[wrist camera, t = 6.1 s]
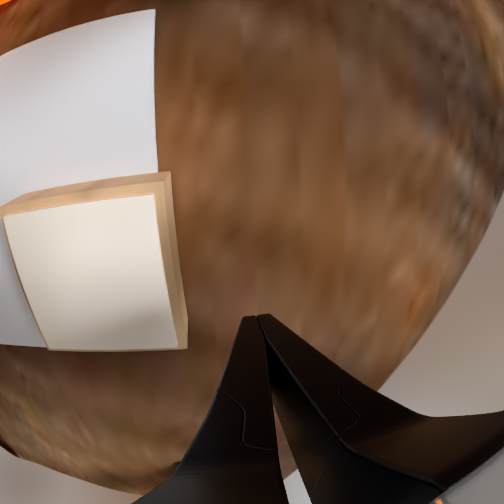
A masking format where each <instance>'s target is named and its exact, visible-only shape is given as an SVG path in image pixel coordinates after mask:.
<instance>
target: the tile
mask: <svg viewBox="0 0 504 504" xmlns="http://www.w3.org/2000/svg"><path fill="white" fill-rule="evenodd" d="M0 216H1V220H2V225H3V229H4V233H5V237H6V240H7V244H8V248H9V251H10V255H11V258H12V261H13V264H14V268H15V271H16V274H17V277H18V280H19V282H20V285H21V288H22V291H23V293H24V296H25V299H26V301H27V304H28V306H29V309H30V311H31V314H32V316H33V318H34V321H35V323H36V325H37V327H38V330H39V332H40V334H41V336H42V338H43V340H44V342H45V344H46V346H47V348H48V350H54V351H86V352H122V351H156V350H176V349H187V335H188V317H187V310H186V304H185V298H184V291H183V284H182V277H181V270H180V262H179V254H178V246H177V237H176V228H175V219H174V209H173V198H172V187H171V174H170V171H165V172H155V173H146V174H137V175H129V176H122V177H114V178H107V179H100V180H94V181H87V182H81V183H75V184H69V185H64V186H58V187H53V188H48V189H43V190H38V191H33V192H29V193H24V194H22V195H21V196H19V197H17V198H15V199H13V200H11V201H9V202H8V203H6V204H4V205H2V206H1V207H0Z"/></svg>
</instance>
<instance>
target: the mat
mask: <svg viewBox="0 0 504 504" xmlns="http://www.w3.org/2000/svg"><path fill="white" fill-rule="evenodd" d="M155 13H156V11H155V9H150V10H144V11H138V12H132V13H127V14H122V15H117V16H112V17H108V18H103V19H99V20H95V21H92V22H88V23H84V24H81V25H77V26H74V27H71V28H68V29H65V30H62V31H59V32H56V33H53V34H50V35H47V36H45V37H42V38H39V39H37V40H34V41H32V42H29V43H27V44H25V45H22V46H20V47H18V48H16V49H14V50H11V51H9V52H7V53H5V54H3V55H1V56H0V207H1V206H2V205H4V204H6V203H8V202H9V201H11V200H13V199H15V198H17V197H19V196H21V195H22V194H24V193H29V192H33V191H38V190H43V189H48V188H53V187H58V186H64V185H69V184H75V183H81V182H87V181H94V180H100V179H107V178H114V177H122V176H129V175H137V174H146V173H155V172H158V161H157V146H156V128H155V103H154V36H155ZM0 344H7V345H19V346H33V347H47V346H46V344H45V342H44V340H43V338H42V336H41V334H40V332H39V330H38V327H37V325H36V323H35V321H34V318H33V316H32V314H31V311H30V309H29V306H28V304H27V301H26V299H25V296H24V293H23V291H22V288H21V285H20V282H19V280H18V277H17V274H16V271H15V268H14V264H13V261H12V258H11V255H10V251H9V248H8V244H7V240H6V237H5V233H4V229H3V225H2V220H1V216H0Z"/></svg>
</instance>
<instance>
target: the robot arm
mask: <svg viewBox="0 0 504 504" xmlns="http://www.w3.org/2000/svg"><path fill="white" fill-rule="evenodd" d="M272 401H273V402H272ZM273 404H274V407H275V409H276V412H277V415H278V417H279V420H280V423H281V425H282V428H283V431H284V433H285V436H286V439H287V441H288V444H289V447H290V449H291V452H292V454H293V457H294V460H295V462H296V465H297V467H298V470H299V472H300V475H301V477H302V480H303V482H304V485H305V488H306V490H307V492H308V495H309V497H310V500H311V503H312V504H504V410H503V411H500V412H494V413H486V414H477V415H465V416H450V417H430V416H425V415H421V414H419V413H416V412H414V411H412V410H410V409H408V408H406V407H404V406H403V405H401V404H399V403H397V402H395V401H393V400H391V399H389V398H388V397H386V396H384V395H382V394H380V393H379V392H377V391H375V390H373V389H372V388H370V387H368V386H367V385H365V384H363V383H362V382H361V381H359V380H358V379H356V378H355V377H353V376H352V375H350V374H349V373H348V372H346V371H345V370H343V369H342V370H341V367H339V366H338V365H337V364H335V363H334V362H333V361H331V360H330V359H328V358H327V357H326V356H324V355H323V354H322V353H320V352H319V351H318V350H316V349H315V348H314V347H313V346H311V345H310V344H309V343H307V342H306V341H305V340H303V339H302V338H301V337H299V336H298V335H297V334H295V333H294V332H293V331H292V330H290V329H289V328H288V327H286V326H285V325H284V324H282V323H281V322H280V321H279V320H277V319H276V318H275V317H274V316H272V315H271V314H261V315H257V317H256V316H254V315H253V316H245V317H243V318H242V320H241V323H240V326H239V329H238V331H237V334H236V337H235V340H234V343H233V346H232V349H231V351H230V354H229V357H228V360H227V363H226V366H225V368H224V371H223V374H222V377H221V380H220V382H219V385H218V388H217V391H216V393H215V396H214V399H213V401H212V404H211V406H210V409H209V411H208V414H207V416H206V418H205V420H204V422H203V423H202V425H201V427H200V429H199V431H198V433H197V434H196V436H195V438H194V440H193V441H192V443H191V445H190V447H189V448H188V450H187V452H186V453H185V455H184V457H183V459H182V460H181V462H180V463H179V464H178V467H177V468H176V469H175V471H174V472H173V473H172V474H171V476H170V477H169V478H168V479H167V480H165V481H164V482H163V483H161V484H160V485H159V486H157V487H156V488H154V489H153V490H151V491H150V492H148V493H147V494H145V495H144V496H142V497H141V498H139V499H138V500H136V501H135V502H133V503H132V504H289V502H288V498H287V494H286V490H285V486H284V483H283V478H282V474H281V469H280V463H279V455H278V446H277V437H276V429H275V420H274V411H273Z"/></svg>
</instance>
